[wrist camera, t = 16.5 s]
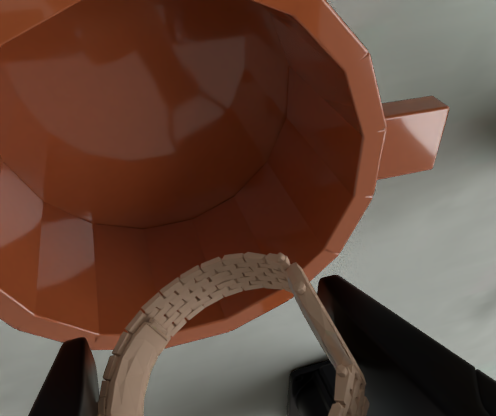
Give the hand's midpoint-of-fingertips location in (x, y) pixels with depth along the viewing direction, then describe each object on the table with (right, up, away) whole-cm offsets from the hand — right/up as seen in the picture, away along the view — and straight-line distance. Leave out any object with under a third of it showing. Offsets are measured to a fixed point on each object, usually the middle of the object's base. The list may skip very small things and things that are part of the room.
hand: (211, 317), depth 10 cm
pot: (-3, +6, +8) cm, 11 cm away
